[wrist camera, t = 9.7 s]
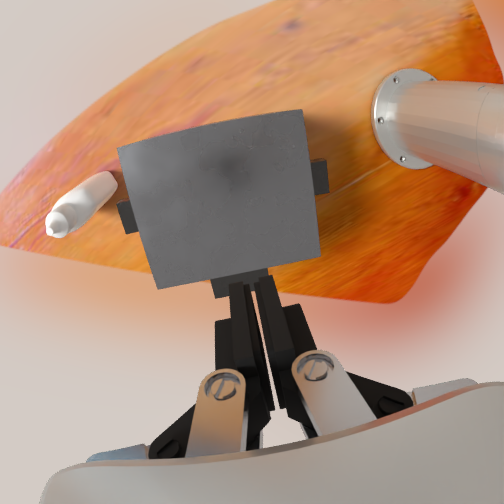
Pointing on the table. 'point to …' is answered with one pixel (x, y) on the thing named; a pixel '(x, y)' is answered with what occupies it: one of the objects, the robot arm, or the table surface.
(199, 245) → the lid
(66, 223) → the eye dropper bottle
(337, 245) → the table surface
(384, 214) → the table surface
